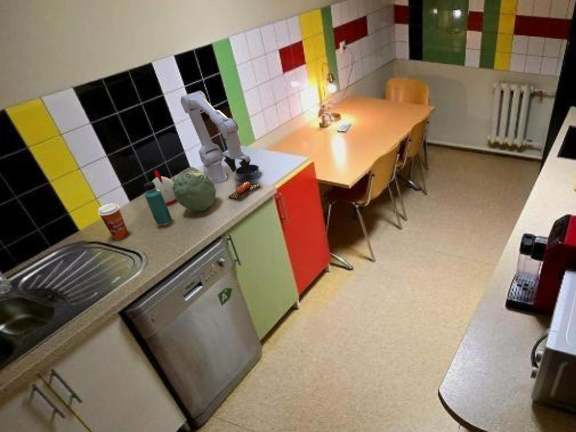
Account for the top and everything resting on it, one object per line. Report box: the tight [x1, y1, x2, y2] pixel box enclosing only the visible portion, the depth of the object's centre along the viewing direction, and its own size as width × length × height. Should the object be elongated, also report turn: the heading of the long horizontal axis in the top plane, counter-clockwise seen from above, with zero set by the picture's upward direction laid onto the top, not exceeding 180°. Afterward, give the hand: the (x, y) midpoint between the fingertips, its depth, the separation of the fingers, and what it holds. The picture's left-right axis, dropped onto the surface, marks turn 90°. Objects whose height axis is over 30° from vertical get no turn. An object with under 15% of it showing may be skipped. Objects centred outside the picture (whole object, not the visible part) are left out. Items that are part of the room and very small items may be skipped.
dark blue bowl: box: [234, 163, 261, 182], centre depth 215 cm, size 12×12×4 cm
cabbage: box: [172, 166, 217, 212], centre depth 186 cm, size 16×19×20 cm
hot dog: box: [235, 181, 252, 194], centre depth 200 cm, size 9×3×3 cm, turn 155°
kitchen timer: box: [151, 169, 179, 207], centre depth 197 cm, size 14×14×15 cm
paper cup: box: [97, 203, 129, 241], centre depth 172 cm, size 8×8×14 cm
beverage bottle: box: [143, 181, 173, 226], centre depth 176 cm, size 6×7×20 cm
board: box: [228, 183, 260, 202], centre depth 202 cm, size 14×7×1 cm, turn 155°
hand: (240, 172), depth 200 cm, fingers open, 7 cm apart
